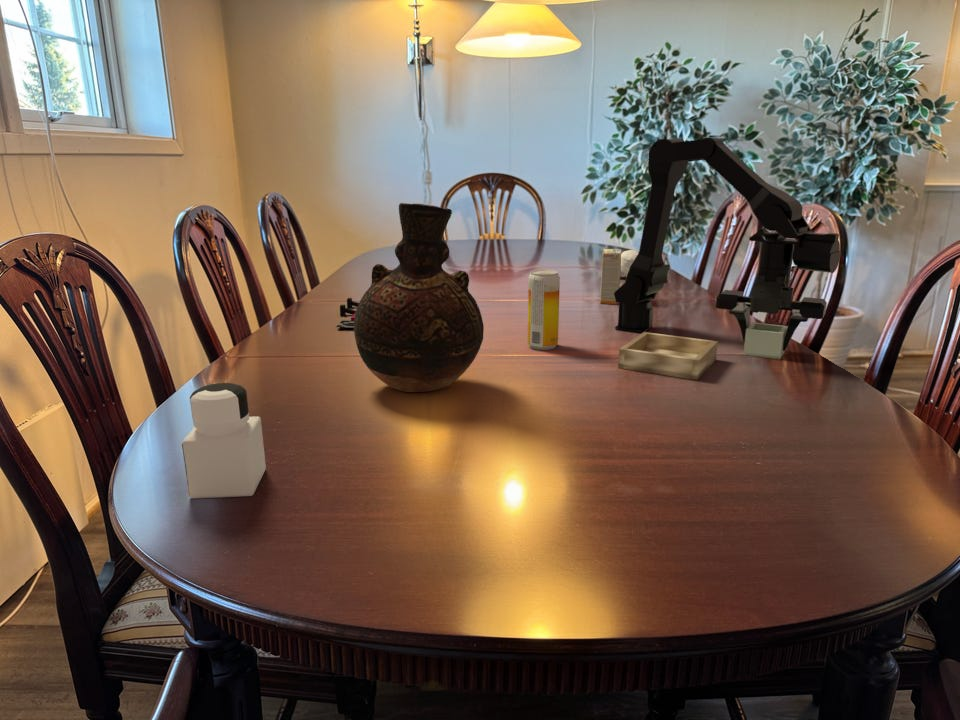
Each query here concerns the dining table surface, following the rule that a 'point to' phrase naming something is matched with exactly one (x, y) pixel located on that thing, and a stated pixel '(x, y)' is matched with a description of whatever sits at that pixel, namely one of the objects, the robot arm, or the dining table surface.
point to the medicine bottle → (223, 444)
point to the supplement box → (610, 275)
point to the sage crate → (765, 340)
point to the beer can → (543, 309)
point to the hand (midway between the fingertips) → (764, 347)
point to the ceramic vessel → (419, 310)
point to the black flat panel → (349, 311)
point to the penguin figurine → (627, 260)
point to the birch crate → (668, 355)
